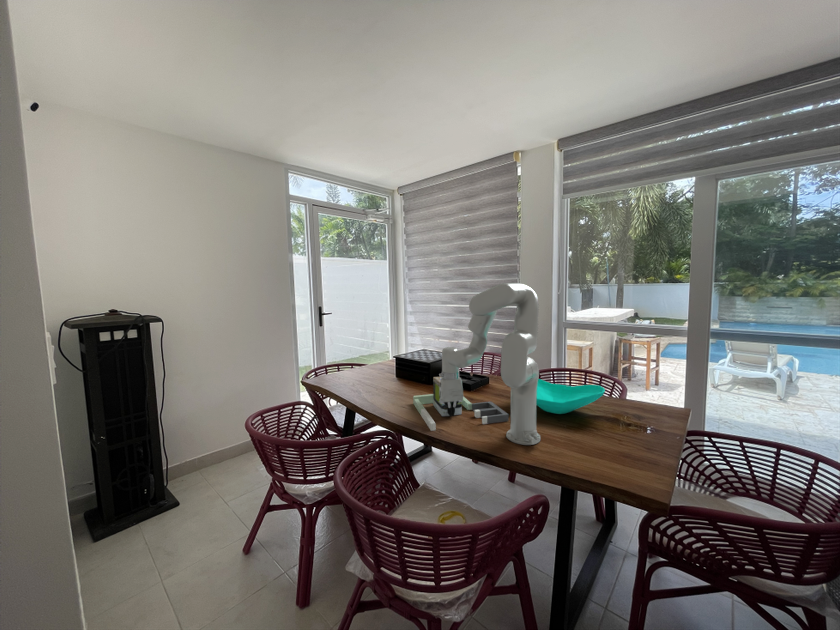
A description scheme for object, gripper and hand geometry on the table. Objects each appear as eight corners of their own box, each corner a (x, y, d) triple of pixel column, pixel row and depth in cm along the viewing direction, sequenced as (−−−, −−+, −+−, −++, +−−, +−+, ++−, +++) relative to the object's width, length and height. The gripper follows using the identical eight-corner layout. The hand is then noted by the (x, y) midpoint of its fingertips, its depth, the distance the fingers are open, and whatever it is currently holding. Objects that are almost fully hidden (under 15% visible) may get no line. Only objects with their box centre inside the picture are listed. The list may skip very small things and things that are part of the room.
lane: (487, 423, 143) (487, 414, 142) (431, 430, 137) (430, 421, 136) (459, 398, 175) (459, 391, 174) (413, 403, 169) (413, 396, 168)
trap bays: (508, 421, 145) (508, 414, 145) (487, 423, 143) (487, 416, 143) (491, 407, 162) (491, 401, 161) (471, 409, 159) (471, 403, 159)
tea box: (462, 414, 153) (462, 383, 152) (441, 417, 151) (441, 385, 150) (452, 403, 168) (451, 374, 167) (432, 405, 166) (432, 376, 164)
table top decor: (607, 409, 156) (607, 381, 155) (601, 432, 133) (602, 399, 132) (522, 395, 178) (522, 371, 177) (504, 412, 155) (504, 384, 154)
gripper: (437, 378, 143) (437, 420, 145) (469, 376, 147) (469, 416, 148) (432, 374, 151) (432, 413, 152) (463, 371, 154) (463, 410, 156)
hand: (451, 415), depth 150 cm, fingers closed
